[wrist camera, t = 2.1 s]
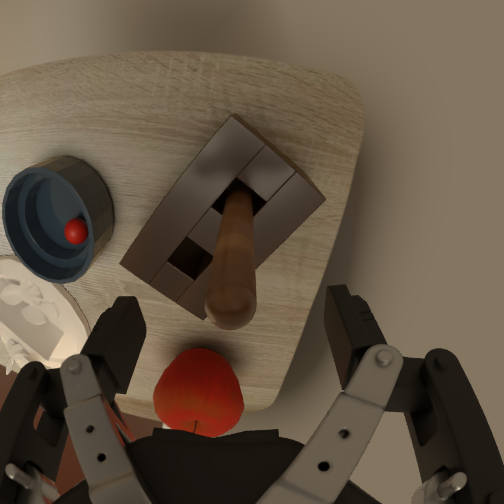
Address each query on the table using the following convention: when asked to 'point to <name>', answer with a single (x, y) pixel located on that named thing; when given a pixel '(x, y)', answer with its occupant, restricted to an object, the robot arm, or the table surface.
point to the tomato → (76, 231)
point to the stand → (219, 212)
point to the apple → (199, 394)
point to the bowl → (56, 218)
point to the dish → (37, 318)
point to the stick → (233, 263)
